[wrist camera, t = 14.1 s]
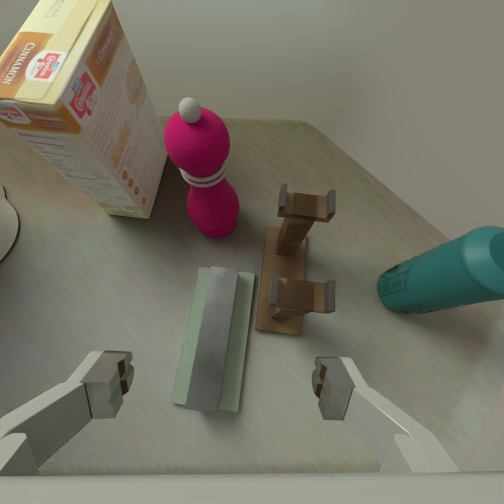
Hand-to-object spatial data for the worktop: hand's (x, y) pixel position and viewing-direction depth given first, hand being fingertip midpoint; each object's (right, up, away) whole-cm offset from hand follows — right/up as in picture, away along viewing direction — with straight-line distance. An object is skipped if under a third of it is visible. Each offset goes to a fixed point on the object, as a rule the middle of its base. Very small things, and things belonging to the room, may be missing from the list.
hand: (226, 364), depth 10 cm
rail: (-3, -6, +20) cm, 21 cm away
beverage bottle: (+21, -1, +24) cm, 32 cm away
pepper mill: (-4, +10, +27) cm, 29 cm away
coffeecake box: (-18, +17, +29) cm, 38 cm away
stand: (+6, +1, +24) cm, 24 cm away
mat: (-3, -6, +21) cm, 22 cm away
